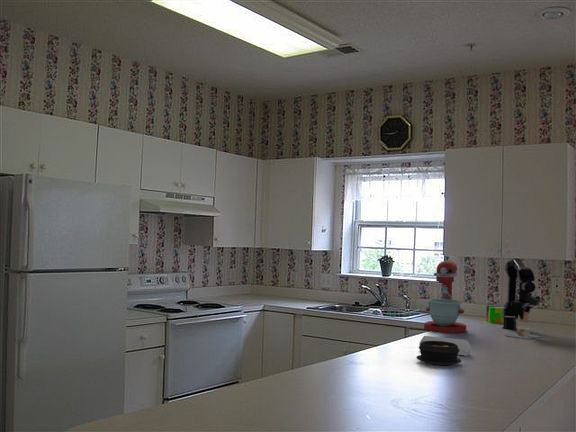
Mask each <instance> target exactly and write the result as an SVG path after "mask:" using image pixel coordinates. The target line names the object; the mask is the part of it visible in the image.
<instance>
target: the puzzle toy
mask: <svg viewBox="0 0 576 432" xmlns="http://www.w3.org/2000/svg"><path fill="white" fill-rule="evenodd" d="M503 308H504V306H502V305H501V306H497V305H486V315H485V316H486V318H485V319H486V322H488V323H490V324H501V325H502V324H503V325H504V318H502V311H503ZM505 317H507V316H505Z"/></svg>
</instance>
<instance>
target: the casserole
mask: <svg viewBox="0 0 576 432" xmlns="http://www.w3.org/2000/svg"><path fill="white" fill-rule="evenodd" d="M418 349H419V351H420V354H418V355H417V356H416V357H415V358H416V359H417V360H418V361H421V362H422V363H424V364H427V365H430V364H431V366H435V365H442V366H441V367H449V366H453V365H456V364H459V363H461V362H462V359H460V358H458V356H459V355H458V352H459V351H460V350H459V349H458V346H457V345H456V344H454V343H450V342H444V341H424V342H421V344H420V345H419V346H418Z"/></svg>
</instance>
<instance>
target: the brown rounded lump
mask: <svg viewBox="0 0 576 432" xmlns="http://www.w3.org/2000/svg"><path fill="white" fill-rule="evenodd" d="M529 314H530V312H524V315H523V319H520V318H519V322H522V323H523V322H525V323H528V322H529Z"/></svg>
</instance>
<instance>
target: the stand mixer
mask: <svg viewBox="0 0 576 432" xmlns="http://www.w3.org/2000/svg"><path fill="white" fill-rule="evenodd" d="M457 270H458V267H457V264H456V263H455V262H453V261H452V260H445V261H441V262H439V263H438V265H437V266H436V272H434V273H433V275H434V276H435V277H436V279H435V280H436V282H438V283H439V284H442V286H441V287H440V288H441V289H442V290H441V292H440V293H439V295H438V296H437V298H431V299H430V298H429V299H427V303H428V306H426V307H425V311H426V312H429V315H430V318H431V319H432V320H429V321H425V322H424V324H423V329H424V330H426V331H428V332H431V331H432V332H433V333H437V332H438V334H461V333H463V334H464V333H466V331H467V325H466V324H465V323H462V322H458V321H457V319H458V317H459V316H460V314H461V315H462V314H464V313H465V309H464V308H462V307H461V305H462V301H460V300H455V299H454V298H453V296H452V295H453V293H452V292H453V291H452V290H453V283H454V282H455V277H457V276H458V272H457ZM432 332H431V333H432Z"/></svg>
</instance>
